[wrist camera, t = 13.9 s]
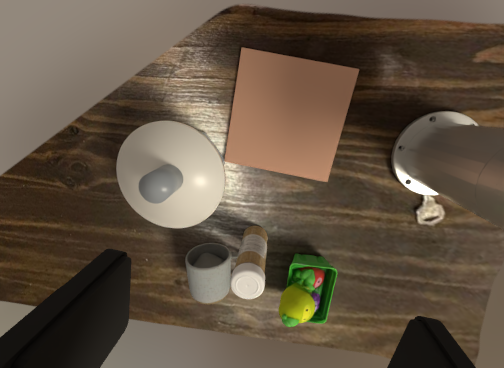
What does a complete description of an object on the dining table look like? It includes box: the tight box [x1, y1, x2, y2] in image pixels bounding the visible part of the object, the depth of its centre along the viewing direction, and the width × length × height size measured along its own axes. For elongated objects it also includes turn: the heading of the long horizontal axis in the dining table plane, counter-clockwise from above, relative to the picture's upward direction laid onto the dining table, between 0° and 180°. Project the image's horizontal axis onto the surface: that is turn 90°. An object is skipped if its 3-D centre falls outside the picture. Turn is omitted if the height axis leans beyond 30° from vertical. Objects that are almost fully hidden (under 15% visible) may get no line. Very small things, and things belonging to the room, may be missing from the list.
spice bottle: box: [230, 226, 268, 299], centre depth 40 cm, size 5×5×14 cm
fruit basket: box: [279, 253, 337, 327], centre depth 42 cm, size 11×9×11 cm
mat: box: [224, 47, 359, 182], centre depth 39 cm, size 17×17×1 cm
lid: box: [116, 121, 226, 228], centre depth 35 cm, size 16×16×6 cm
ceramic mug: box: [185, 243, 238, 304], centre depth 45 cm, size 11×8×8 cm
